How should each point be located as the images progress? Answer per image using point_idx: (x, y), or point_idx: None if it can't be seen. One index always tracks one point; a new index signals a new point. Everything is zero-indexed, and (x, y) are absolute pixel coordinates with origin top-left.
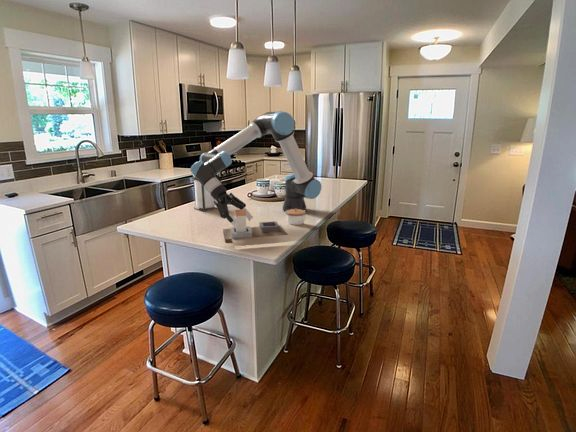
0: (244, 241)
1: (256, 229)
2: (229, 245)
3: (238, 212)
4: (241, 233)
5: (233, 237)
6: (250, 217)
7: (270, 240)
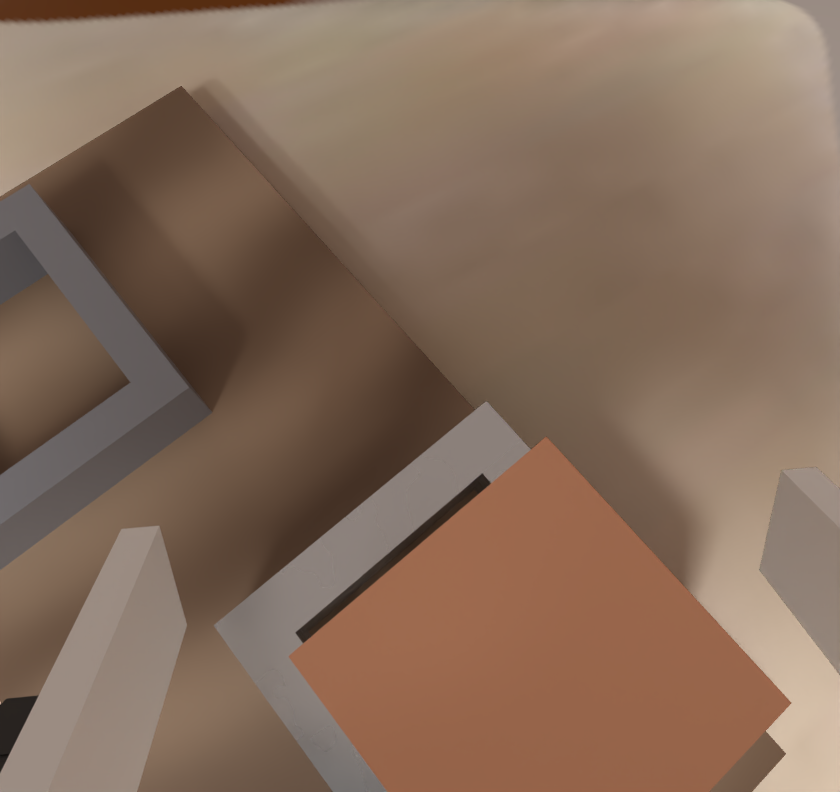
0: None
1: None
2: None
3: (718, 628)
4: None
5: None
6: (160, 587)
7: (372, 239)
